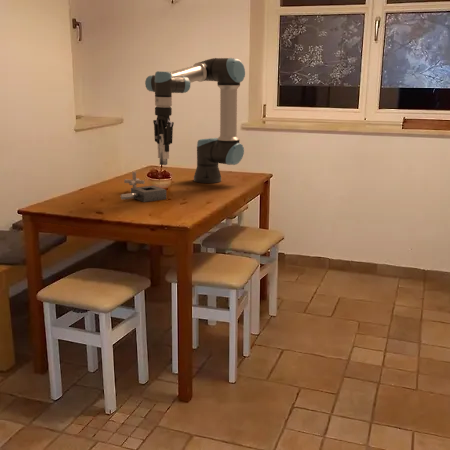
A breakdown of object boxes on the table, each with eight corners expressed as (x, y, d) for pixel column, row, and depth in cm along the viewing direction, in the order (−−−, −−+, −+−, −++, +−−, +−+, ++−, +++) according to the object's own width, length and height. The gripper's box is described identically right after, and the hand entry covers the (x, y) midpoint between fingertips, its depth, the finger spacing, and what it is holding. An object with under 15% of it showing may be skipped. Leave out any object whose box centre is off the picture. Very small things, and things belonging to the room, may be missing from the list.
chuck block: (153, 194, 287) (153, 185, 285) (166, 199, 277) (166, 189, 276) (115, 199, 275) (115, 189, 274) (128, 204, 266) (128, 194, 264)
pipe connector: (140, 194, 287) (140, 173, 284) (121, 193, 289) (120, 172, 286) (147, 190, 296) (147, 170, 294) (128, 189, 298) (128, 169, 296)
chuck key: (168, 163, 278) (168, 133, 275) (172, 164, 276) (172, 133, 272) (154, 164, 273) (153, 134, 270) (158, 165, 271) (158, 134, 267)
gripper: (146, 105, 272) (146, 156, 278) (166, 107, 259) (166, 161, 265) (160, 105, 277) (160, 155, 282) (180, 107, 264) (180, 159, 270)
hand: (163, 158), depth 274 cm, fingers closed on chuck key, 3 cm apart
